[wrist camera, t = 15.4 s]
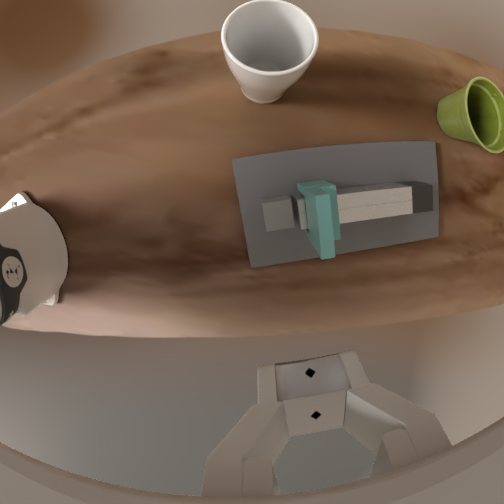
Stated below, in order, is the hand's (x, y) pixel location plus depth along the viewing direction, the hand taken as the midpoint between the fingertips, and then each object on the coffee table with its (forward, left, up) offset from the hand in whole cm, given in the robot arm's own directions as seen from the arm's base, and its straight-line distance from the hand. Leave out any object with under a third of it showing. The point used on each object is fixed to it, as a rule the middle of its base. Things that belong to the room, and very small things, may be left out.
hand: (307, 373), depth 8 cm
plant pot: (+28, +10, -27) cm, 40 cm away
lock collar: (+5, 0, -25) cm, 26 cm away
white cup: (+2, +15, -27) cm, 31 cm away
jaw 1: (+11, +1, -25) cm, 28 cm away
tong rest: (+11, 0, -27) cm, 29 cm away
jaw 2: (+11, -1, -25) cm, 28 cm away
